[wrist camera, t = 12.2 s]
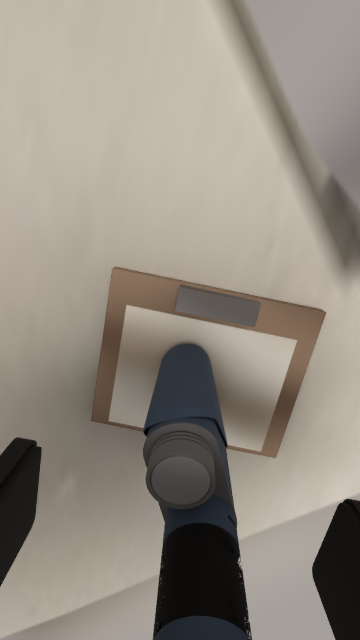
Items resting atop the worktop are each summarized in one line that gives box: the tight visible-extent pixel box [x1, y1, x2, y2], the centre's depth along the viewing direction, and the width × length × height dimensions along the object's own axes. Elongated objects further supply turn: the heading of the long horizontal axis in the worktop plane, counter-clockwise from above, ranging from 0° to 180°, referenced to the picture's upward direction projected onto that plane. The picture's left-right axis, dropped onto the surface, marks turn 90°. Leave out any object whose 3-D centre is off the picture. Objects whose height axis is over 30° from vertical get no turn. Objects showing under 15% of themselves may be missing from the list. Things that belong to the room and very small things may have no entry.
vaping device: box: [143, 344, 252, 640], centre depth 11 cm, size 3×5×12 cm, turn 14°
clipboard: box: [91, 267, 326, 458], centre depth 17 cm, size 9×11×1 cm
